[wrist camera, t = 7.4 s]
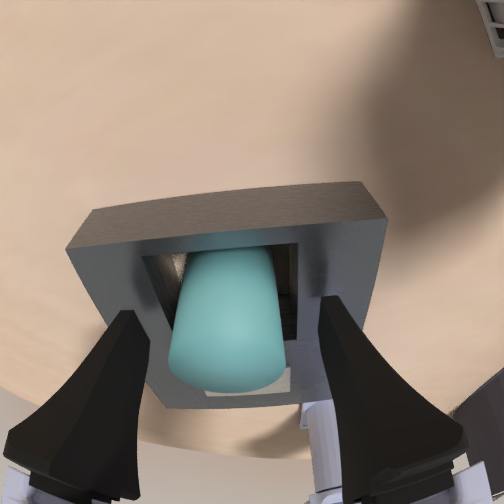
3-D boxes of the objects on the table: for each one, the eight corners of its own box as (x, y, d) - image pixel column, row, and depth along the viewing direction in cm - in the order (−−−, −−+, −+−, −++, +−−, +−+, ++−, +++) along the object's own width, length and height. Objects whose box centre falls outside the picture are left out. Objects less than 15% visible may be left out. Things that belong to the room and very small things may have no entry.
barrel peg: (272, 285, 16) (283, 390, 11) (196, 289, 16) (183, 393, 11) (271, 219, 13) (287, 330, 9) (181, 225, 13) (153, 335, 9)
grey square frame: (332, 362, 21) (340, 400, 18) (171, 373, 21) (166, 410, 19) (360, 181, 12) (390, 221, 10) (92, 210, 13) (63, 252, 10)
